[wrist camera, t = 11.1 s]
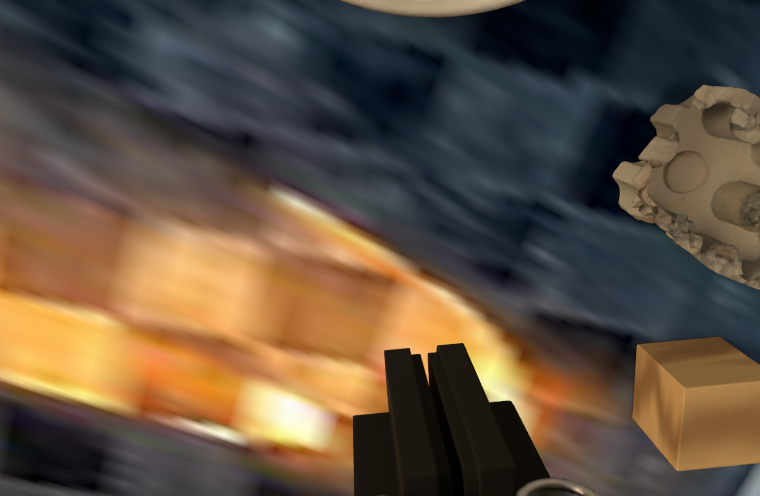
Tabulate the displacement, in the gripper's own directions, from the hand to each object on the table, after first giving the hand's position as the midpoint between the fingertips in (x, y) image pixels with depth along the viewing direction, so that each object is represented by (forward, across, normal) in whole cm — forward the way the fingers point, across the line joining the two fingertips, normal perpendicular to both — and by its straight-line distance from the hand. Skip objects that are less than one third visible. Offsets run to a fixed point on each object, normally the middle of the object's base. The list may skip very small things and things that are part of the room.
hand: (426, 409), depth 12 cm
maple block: (+19, -17, +12) cm, 28 cm away
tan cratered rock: (+19, -18, 0) cm, 26 cm away
